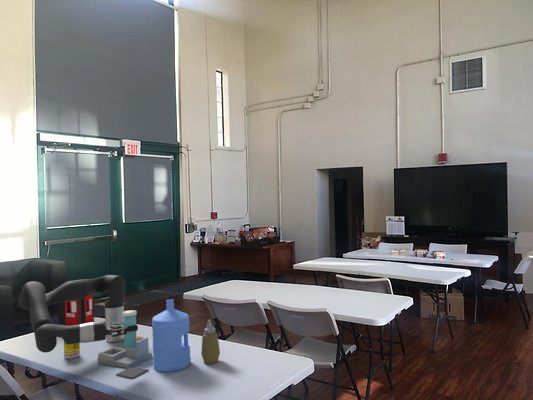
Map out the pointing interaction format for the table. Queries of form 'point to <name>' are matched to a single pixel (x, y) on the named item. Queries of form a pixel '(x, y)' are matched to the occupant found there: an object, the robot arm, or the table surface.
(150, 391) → the table surface
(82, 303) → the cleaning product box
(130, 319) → the cylinder
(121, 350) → the housing
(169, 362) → the water jug
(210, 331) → the squeeze bottle
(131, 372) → the mat
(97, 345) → the table surface
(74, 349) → the supplement bottle
